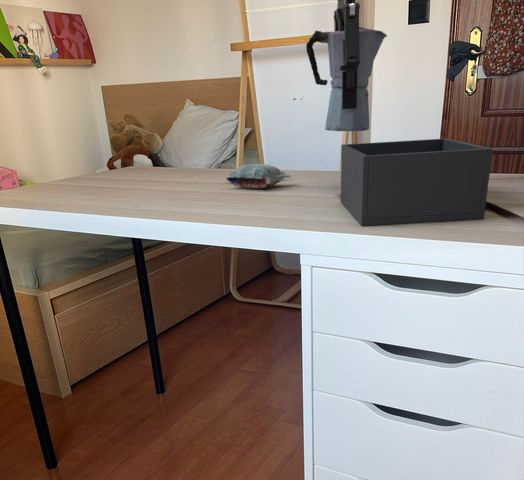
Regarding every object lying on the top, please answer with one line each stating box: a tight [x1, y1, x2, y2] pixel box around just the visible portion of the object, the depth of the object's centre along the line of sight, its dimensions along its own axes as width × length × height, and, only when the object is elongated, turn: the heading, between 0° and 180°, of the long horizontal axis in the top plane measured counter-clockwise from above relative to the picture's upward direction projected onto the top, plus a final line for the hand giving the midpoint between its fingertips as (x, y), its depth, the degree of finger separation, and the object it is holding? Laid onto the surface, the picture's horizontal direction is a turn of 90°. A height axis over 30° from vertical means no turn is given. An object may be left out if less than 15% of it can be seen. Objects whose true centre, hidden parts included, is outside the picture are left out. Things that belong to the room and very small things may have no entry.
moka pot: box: [305, 26, 388, 132], centre depth 103 cm, size 10×15×20 cm, turn 80°
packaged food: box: [225, 163, 291, 189], centre depth 117 cm, size 9×12×5 cm
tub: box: [340, 138, 494, 227], centre depth 86 cm, size 19×20×10 cm
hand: (345, 108), depth 106 cm, fingers closed on moka pot, 8 cm apart
